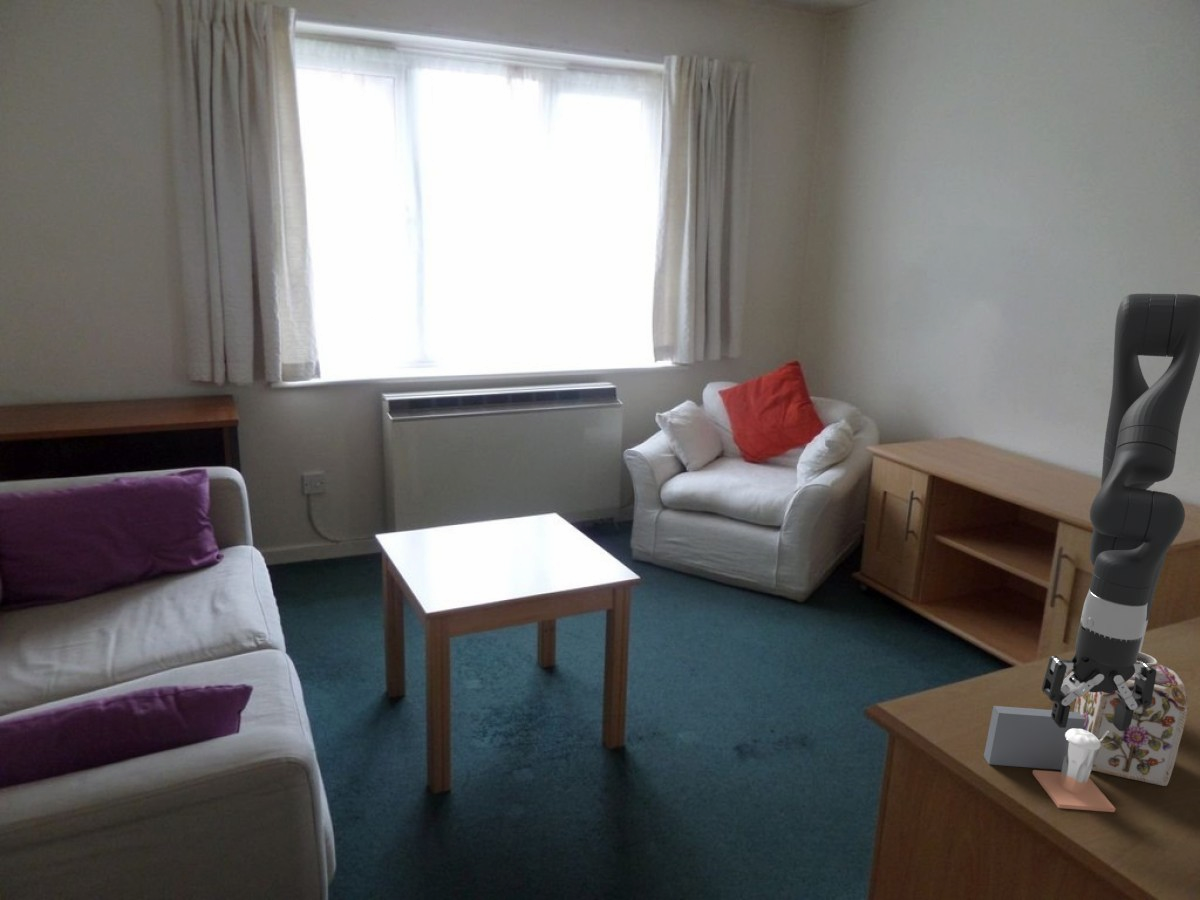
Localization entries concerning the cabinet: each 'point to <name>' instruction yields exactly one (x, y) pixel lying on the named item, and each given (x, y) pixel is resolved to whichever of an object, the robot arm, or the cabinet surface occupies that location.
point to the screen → (1027, 737)
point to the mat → (1068, 800)
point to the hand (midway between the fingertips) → (1088, 726)
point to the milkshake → (1078, 759)
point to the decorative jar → (1139, 728)
